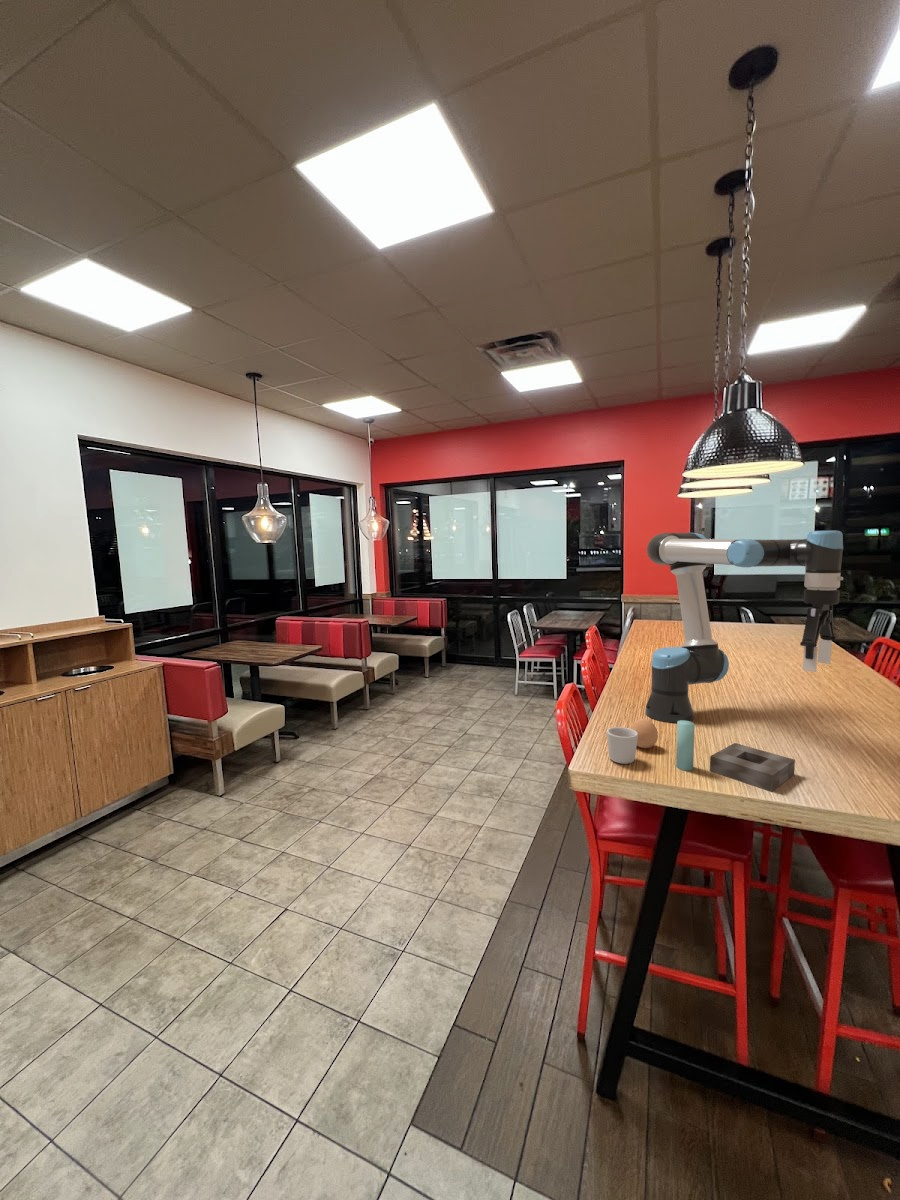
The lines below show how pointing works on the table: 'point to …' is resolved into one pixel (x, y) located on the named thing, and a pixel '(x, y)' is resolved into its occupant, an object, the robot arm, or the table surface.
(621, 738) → the cup
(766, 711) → the table surface
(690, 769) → the peg
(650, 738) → the egg
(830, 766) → the table surface
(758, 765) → the socket
